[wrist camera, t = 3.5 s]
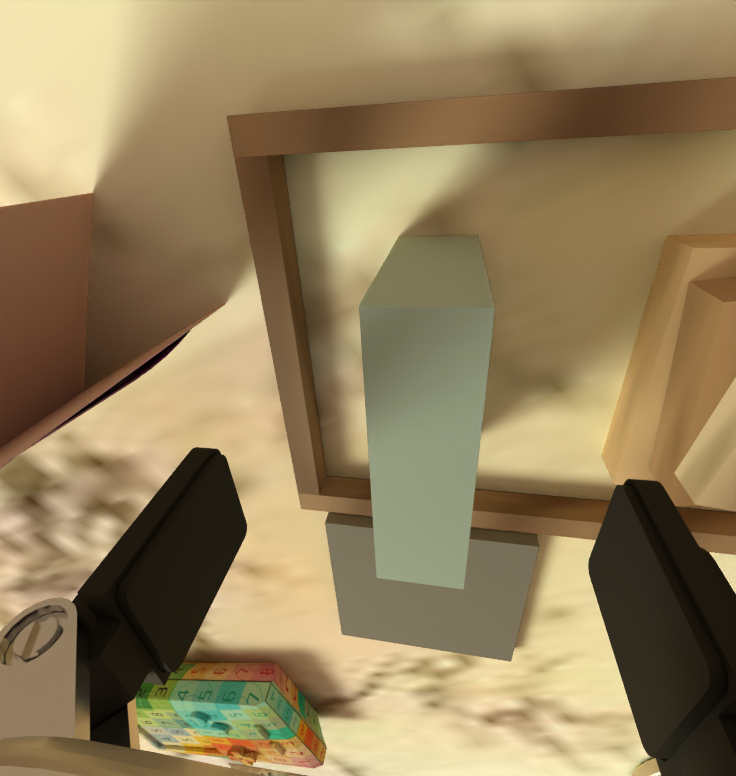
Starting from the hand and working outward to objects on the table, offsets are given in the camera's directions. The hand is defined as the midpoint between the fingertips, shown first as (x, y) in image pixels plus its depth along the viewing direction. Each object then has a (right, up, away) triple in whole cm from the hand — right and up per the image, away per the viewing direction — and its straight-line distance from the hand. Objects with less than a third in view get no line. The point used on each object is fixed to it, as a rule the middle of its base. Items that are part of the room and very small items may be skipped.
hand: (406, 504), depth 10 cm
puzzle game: (-16, -27, +32) cm, 44 cm away
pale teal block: (+2, +5, +8) cm, 10 cm away
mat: (+3, -10, +17) cm, 20 cm away
